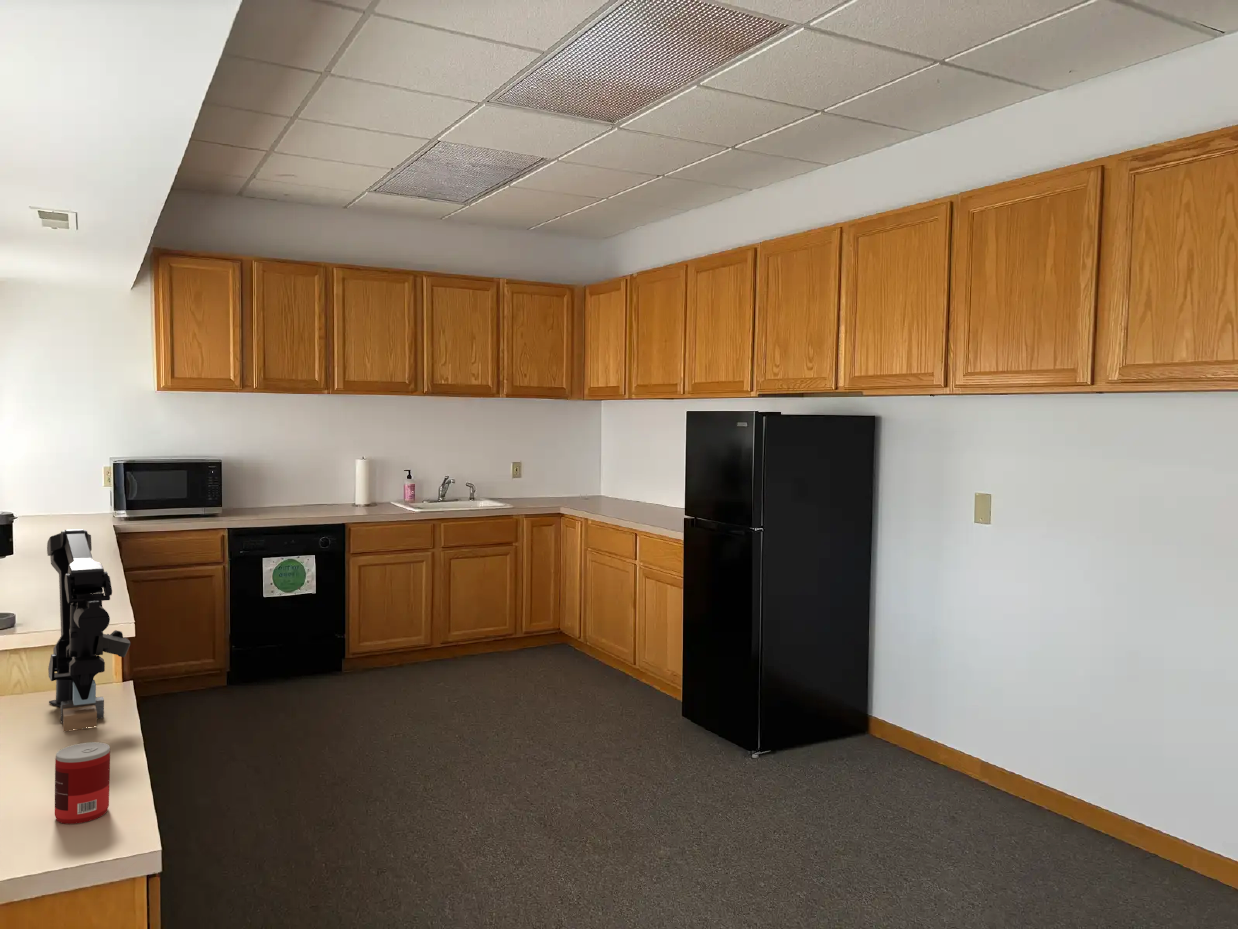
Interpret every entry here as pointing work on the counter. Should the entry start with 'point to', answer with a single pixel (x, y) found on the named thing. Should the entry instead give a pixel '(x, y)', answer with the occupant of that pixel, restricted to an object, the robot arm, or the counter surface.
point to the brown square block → (79, 717)
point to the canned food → (82, 782)
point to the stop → (98, 704)
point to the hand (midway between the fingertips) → (84, 696)
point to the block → (91, 697)
